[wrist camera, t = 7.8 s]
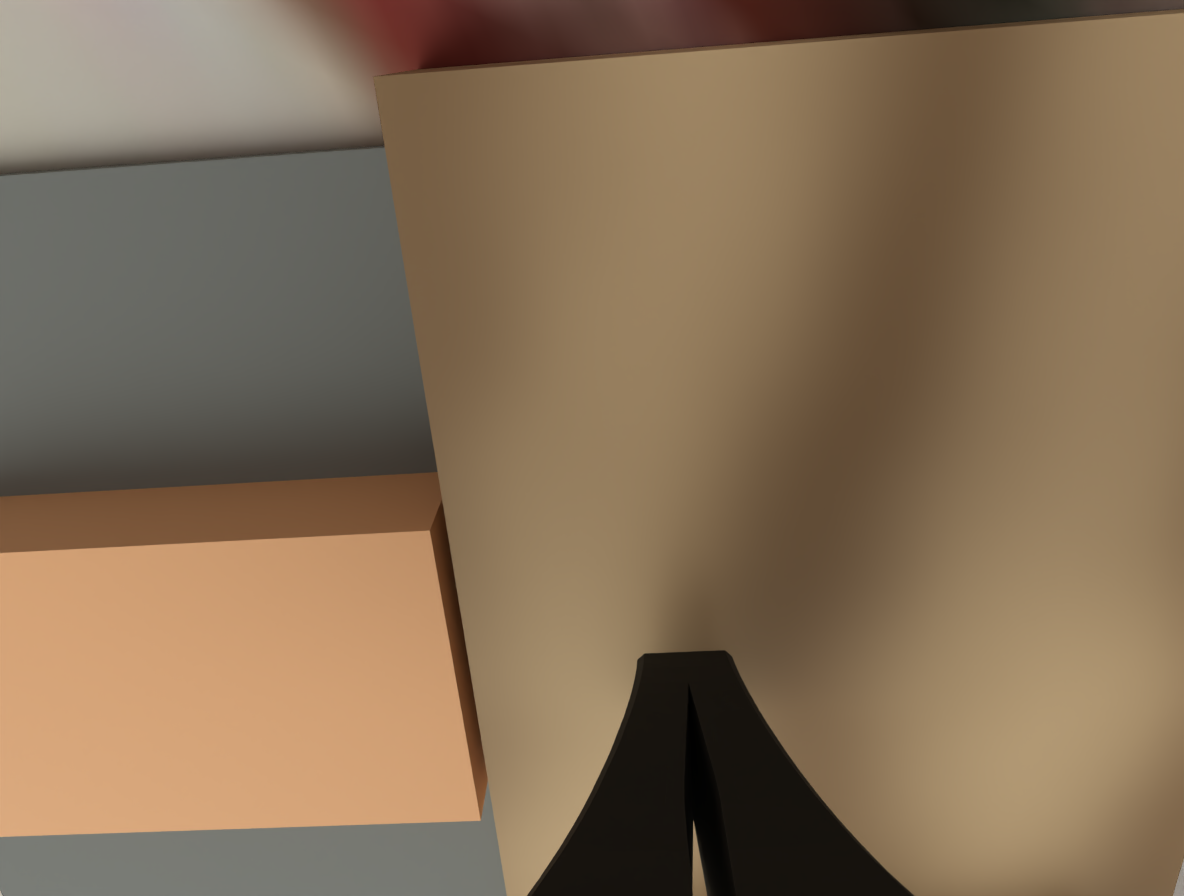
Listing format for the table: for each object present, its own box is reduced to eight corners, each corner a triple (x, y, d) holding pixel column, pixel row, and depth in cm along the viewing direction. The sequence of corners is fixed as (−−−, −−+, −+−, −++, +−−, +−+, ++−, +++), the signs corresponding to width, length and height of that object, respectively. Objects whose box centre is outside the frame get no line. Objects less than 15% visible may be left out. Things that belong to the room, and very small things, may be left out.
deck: (1284, 1, 12) (1437, -7, 10) (1049, 1020, 21) (1101, 1138, 19) (416, 69, 13) (373, 76, 10) (554, 1030, 22) (547, 1144, 20)
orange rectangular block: (452, 471, 15) (429, 530, 13) (494, 739, 18) (480, 820, 16) (-52, 498, 16) (-139, 560, 14) (60, 757, 18) (-2, 837, 16)
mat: (427, 142, 13) (422, 144, 13) (538, 920, 20) (538, 932, 20) (-332, 198, 14) (-350, 201, 14) (35, 933, 21) (27, 944, 21)
